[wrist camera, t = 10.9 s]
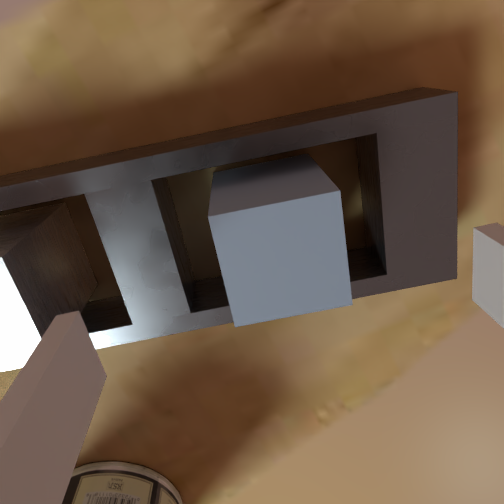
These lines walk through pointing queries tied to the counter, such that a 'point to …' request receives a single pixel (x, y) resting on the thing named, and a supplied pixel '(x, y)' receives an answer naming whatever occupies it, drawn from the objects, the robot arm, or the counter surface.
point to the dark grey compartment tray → (249, 147)
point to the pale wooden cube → (38, 278)
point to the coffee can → (119, 485)
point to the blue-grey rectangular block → (279, 239)
